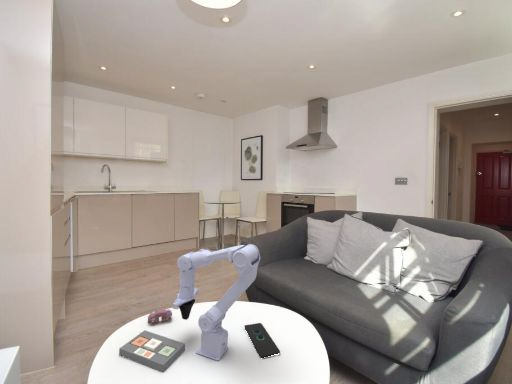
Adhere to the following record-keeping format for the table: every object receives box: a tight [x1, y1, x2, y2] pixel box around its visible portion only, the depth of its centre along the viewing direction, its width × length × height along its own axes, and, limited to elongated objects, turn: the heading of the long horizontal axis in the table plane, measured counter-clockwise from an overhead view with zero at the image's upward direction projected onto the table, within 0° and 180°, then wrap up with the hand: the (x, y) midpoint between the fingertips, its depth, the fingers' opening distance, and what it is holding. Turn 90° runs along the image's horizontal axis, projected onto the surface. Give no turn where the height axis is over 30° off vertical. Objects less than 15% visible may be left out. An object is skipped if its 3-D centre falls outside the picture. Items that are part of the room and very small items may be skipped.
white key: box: [144, 338, 162, 352], centre depth 95 cm, size 4×4×2 cm
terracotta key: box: [131, 337, 149, 347], centre depth 97 cm, size 4×4×2 cm
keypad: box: [118, 330, 186, 373], centre depth 95 cm, size 19×12×3 cm, turn 70°
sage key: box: [157, 346, 176, 357], centre depth 93 cm, size 4×4×2 cm
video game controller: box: [147, 308, 173, 324], centre depth 114 cm, size 10×5×7 cm
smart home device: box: [244, 322, 281, 359], centre depth 106 cm, size 8×2×20 cm
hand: (185, 318), depth 102 cm, fingers closed
